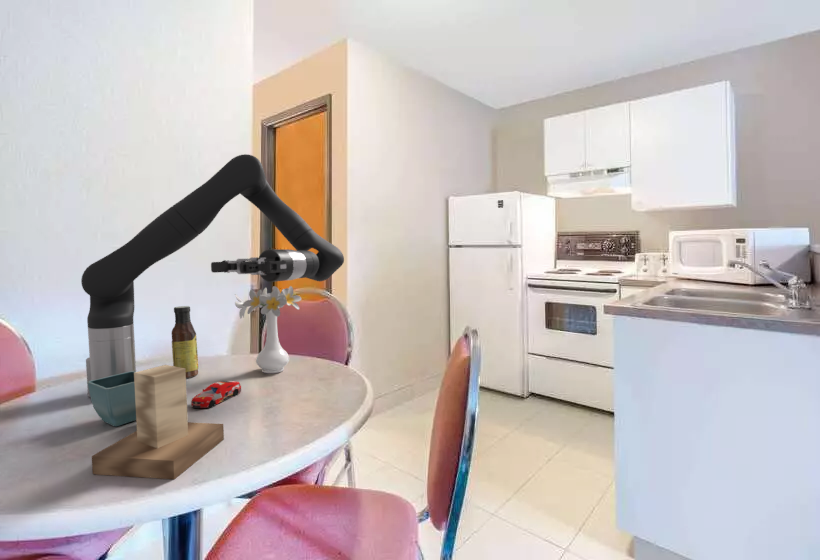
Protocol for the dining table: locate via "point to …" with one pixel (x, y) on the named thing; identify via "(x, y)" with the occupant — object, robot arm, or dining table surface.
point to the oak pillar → (161, 405)
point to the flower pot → (114, 398)
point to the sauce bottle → (184, 342)
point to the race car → (216, 394)
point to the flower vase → (270, 325)
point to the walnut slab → (157, 454)
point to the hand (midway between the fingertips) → (226, 267)
